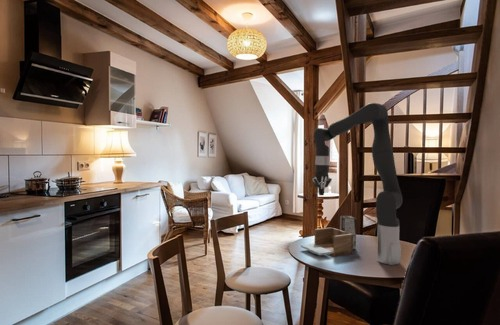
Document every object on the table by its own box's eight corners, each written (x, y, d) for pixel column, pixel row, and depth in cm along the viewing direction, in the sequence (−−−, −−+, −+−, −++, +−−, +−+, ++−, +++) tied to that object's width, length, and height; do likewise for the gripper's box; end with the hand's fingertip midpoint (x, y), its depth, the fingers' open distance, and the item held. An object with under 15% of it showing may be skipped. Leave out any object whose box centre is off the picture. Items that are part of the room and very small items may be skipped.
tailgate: (332, 251, 153) (319, 253, 149) (332, 255, 153) (319, 257, 149) (312, 243, 166) (301, 245, 163) (312, 246, 166) (301, 248, 163)
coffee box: (356, 249, 166) (357, 218, 166) (343, 249, 166) (344, 218, 166) (351, 244, 175) (351, 215, 175) (339, 244, 175) (340, 215, 175)
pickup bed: (352, 254, 158) (353, 234, 158) (333, 257, 153) (334, 236, 152) (331, 245, 172) (331, 227, 172) (313, 248, 167) (313, 229, 167)
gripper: (317, 164, 169) (316, 196, 170) (335, 164, 175) (335, 195, 176) (308, 163, 176) (307, 194, 177) (326, 163, 182) (326, 193, 183)
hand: (321, 195), depth 176 cm, fingers closed
